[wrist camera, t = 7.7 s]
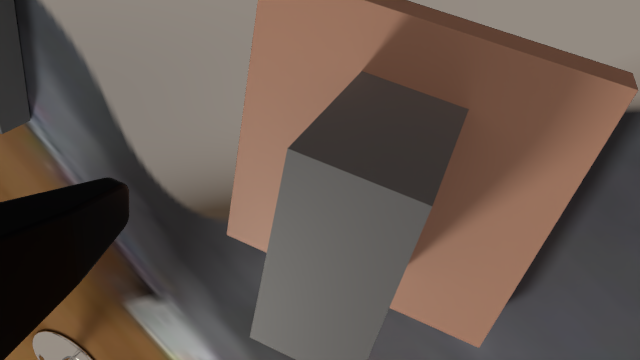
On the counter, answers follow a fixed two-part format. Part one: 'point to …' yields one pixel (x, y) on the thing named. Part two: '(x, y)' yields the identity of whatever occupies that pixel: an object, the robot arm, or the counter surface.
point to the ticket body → (11, 72)
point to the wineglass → (57, 347)
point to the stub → (404, 167)
